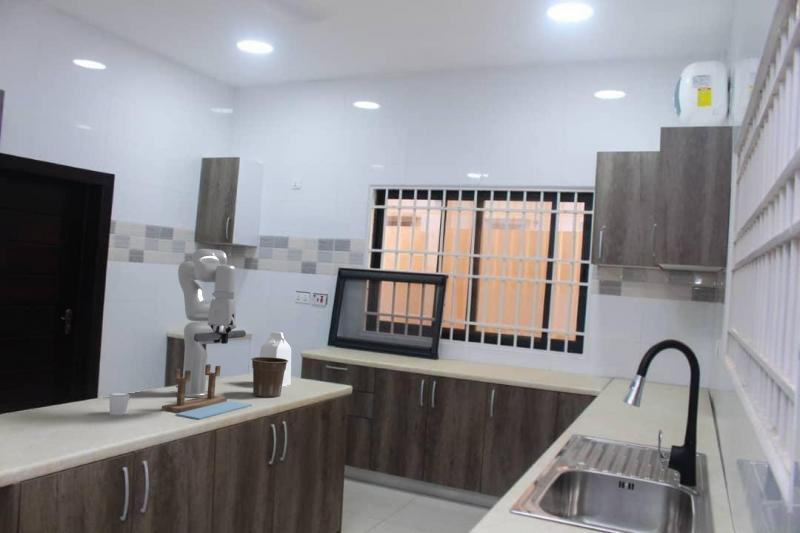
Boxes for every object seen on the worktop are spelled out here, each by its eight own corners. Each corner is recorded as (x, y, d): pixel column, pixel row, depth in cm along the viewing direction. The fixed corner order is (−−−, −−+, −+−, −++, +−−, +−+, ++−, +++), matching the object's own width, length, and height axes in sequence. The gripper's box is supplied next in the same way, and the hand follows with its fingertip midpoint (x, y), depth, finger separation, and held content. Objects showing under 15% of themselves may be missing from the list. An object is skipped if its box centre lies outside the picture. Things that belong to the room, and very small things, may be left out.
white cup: (106, 415, 228) (107, 395, 228) (109, 411, 235) (111, 392, 235) (126, 415, 230) (128, 396, 230) (129, 411, 237) (130, 392, 237)
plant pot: (289, 393, 292) (292, 358, 292) (279, 400, 276) (282, 363, 276) (255, 390, 293) (258, 355, 294) (243, 396, 277) (246, 360, 278)
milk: (290, 385, 312) (294, 333, 313) (274, 388, 302) (278, 334, 303) (272, 382, 318) (276, 330, 319) (256, 384, 309) (260, 331, 309)
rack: (161, 409, 243) (164, 370, 243) (209, 398, 268) (212, 362, 269) (180, 413, 239) (183, 372, 239) (226, 401, 265) (229, 365, 265)
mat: (175, 415, 235) (175, 413, 235) (229, 402, 264) (229, 400, 264) (199, 419, 231) (199, 418, 231) (251, 405, 260) (251, 404, 260)
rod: (199, 342, 234) (200, 334, 235) (193, 341, 236) (194, 333, 236) (245, 337, 260) (246, 330, 260) (239, 336, 261) (240, 329, 262)
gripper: (200, 294, 248) (197, 341, 248) (235, 297, 242) (231, 345, 241) (213, 294, 255) (210, 340, 255) (246, 297, 249) (243, 344, 248)
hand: (220, 342), depth 248 cm, fingers closed on rod, 3 cm apart
